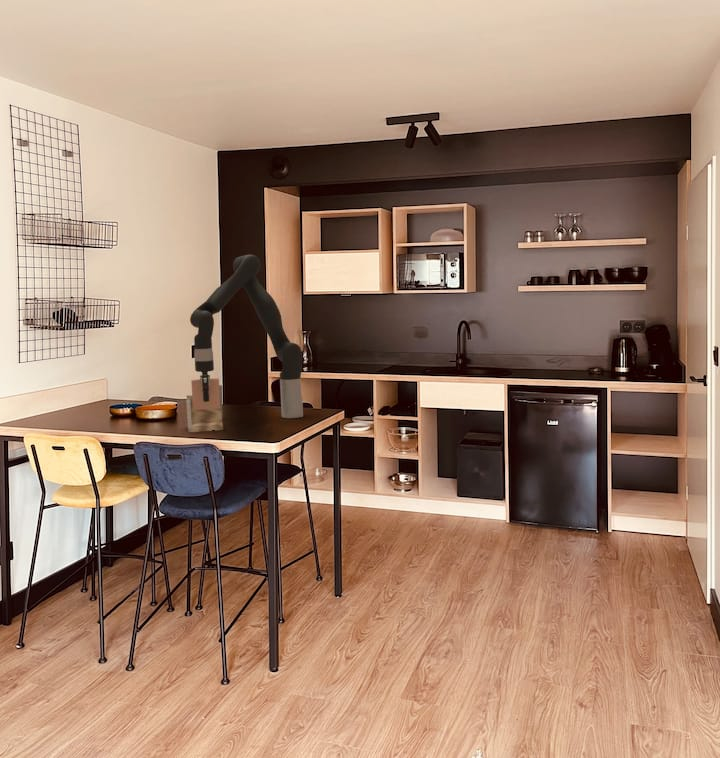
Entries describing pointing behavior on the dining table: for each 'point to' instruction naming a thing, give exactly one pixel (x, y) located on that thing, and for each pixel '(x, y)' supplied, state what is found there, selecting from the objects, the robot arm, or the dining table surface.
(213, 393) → the terracotta book
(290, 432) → the dining table surface
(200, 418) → the plywood shelf
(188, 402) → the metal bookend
